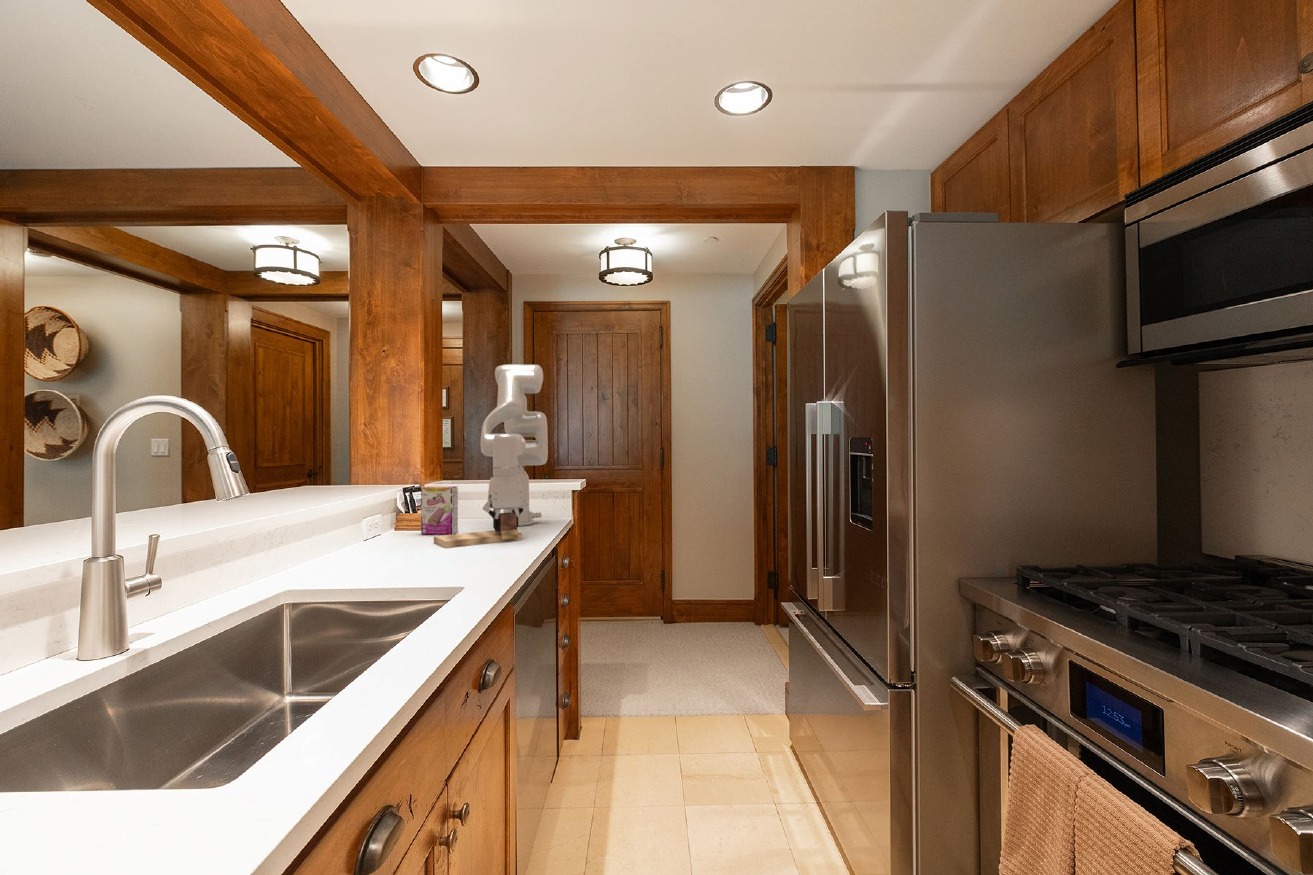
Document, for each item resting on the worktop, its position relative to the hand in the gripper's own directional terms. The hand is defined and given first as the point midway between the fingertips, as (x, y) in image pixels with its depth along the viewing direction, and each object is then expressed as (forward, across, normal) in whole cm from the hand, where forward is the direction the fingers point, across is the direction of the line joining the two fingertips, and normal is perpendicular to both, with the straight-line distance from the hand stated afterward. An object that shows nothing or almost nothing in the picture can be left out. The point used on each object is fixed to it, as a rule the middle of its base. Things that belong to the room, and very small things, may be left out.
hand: (505, 529), depth 194 cm
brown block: (+2, 0, 0) cm, 2 cm away
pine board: (+3, +8, -4) cm, 9 cm away
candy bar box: (+4, +12, -27) cm, 30 cm away
